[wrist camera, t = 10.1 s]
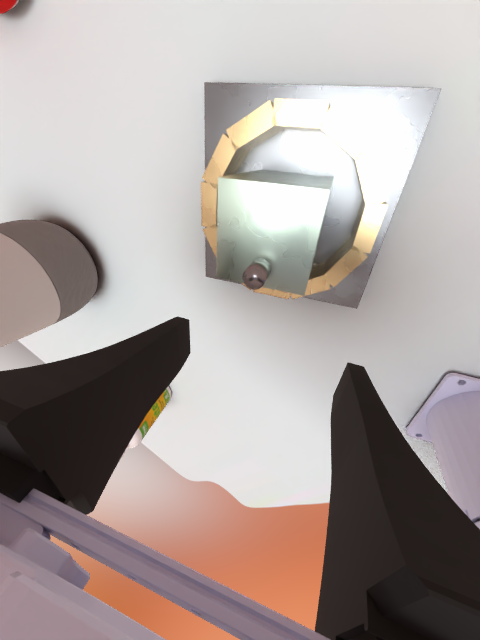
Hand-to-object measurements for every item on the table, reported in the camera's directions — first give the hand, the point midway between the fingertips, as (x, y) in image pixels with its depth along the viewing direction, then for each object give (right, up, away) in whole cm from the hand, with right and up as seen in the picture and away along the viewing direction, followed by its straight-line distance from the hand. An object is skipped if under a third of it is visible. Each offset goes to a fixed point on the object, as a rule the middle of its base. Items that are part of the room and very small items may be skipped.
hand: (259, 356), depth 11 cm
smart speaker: (-19, +8, +15) cm, 26 cm away
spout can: (+2, +9, +5) cm, 10 cm away
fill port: (+3, +9, +6) cm, 11 cm away
